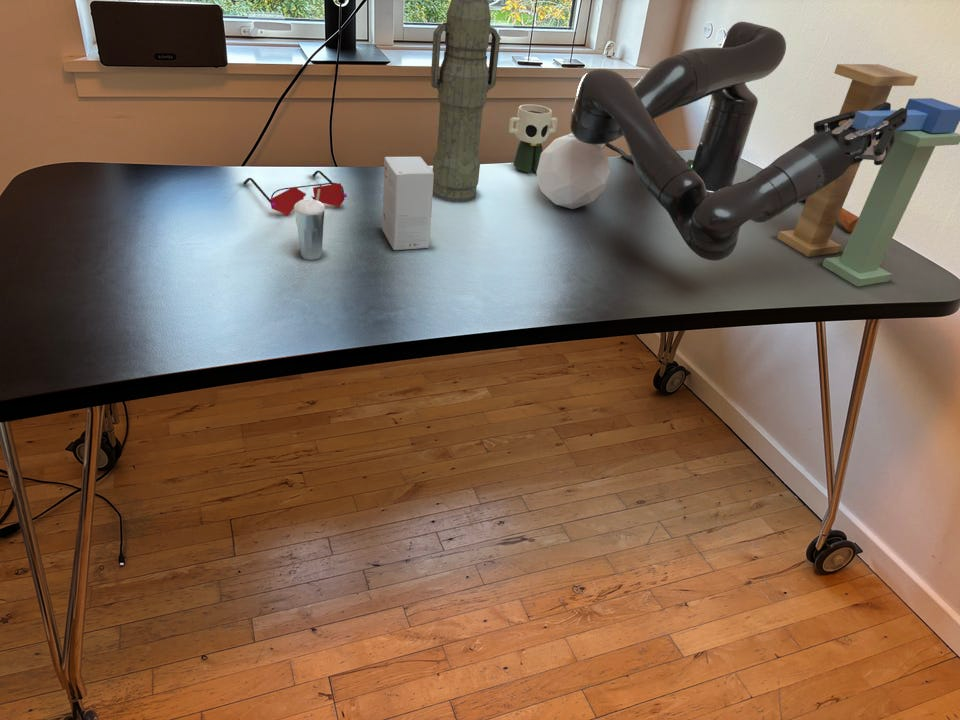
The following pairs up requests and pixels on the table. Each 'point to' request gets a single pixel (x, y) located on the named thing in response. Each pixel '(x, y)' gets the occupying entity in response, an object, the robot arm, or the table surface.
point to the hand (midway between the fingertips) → (896, 110)
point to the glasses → (293, 195)
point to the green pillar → (886, 206)
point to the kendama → (846, 219)
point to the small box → (407, 202)
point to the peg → (916, 116)
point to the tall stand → (827, 203)
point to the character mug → (531, 134)
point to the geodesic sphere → (573, 171)
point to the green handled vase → (462, 96)
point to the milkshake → (310, 226)
